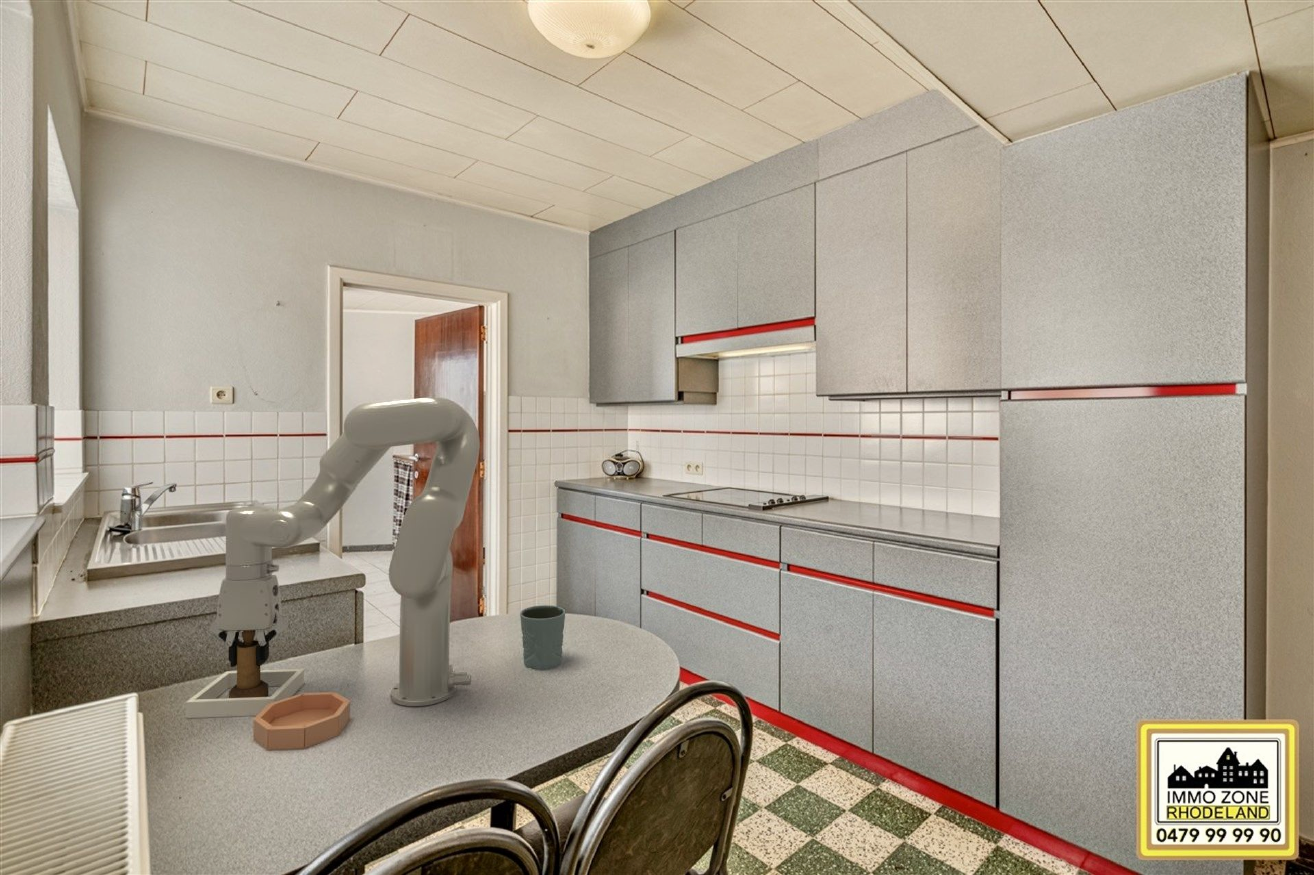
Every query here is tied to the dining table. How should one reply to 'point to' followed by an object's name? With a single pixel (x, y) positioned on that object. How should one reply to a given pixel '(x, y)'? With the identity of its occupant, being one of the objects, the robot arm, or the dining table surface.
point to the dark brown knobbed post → (248, 670)
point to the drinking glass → (542, 636)
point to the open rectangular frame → (209, 706)
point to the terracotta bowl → (301, 720)
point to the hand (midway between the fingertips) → (248, 663)
